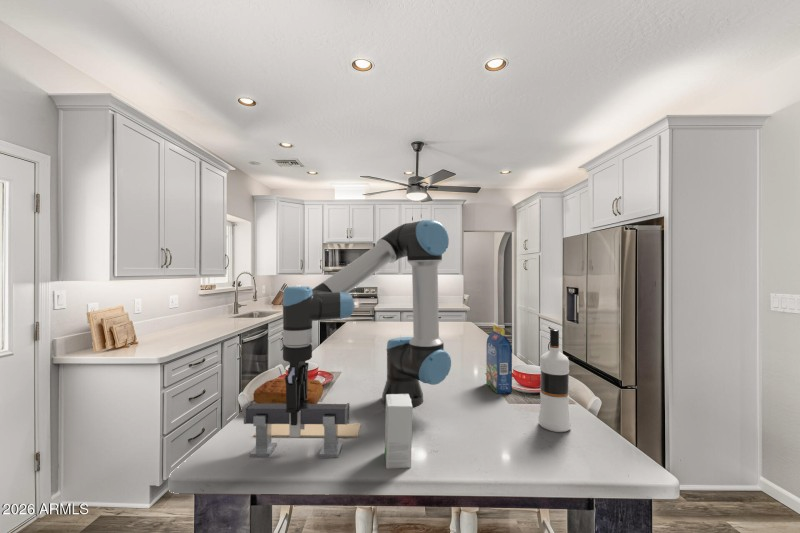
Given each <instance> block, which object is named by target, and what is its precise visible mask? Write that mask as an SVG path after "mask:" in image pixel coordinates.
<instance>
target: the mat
mask: <svg viewBox="0 0 800 533" xmlns="http://www.w3.org/2000/svg"><path fill="white" fill-rule="evenodd" d="M360 429H361V423H348V424H347V425H345V424H338V438H358V436H359V433H360ZM253 437H254V438H256V432H255V433H254V434H253ZM280 437H281V438H290V437H289V424H271V438H280ZM299 438H324V426H323V424H305V429H301V436H300V437H299Z"/></svg>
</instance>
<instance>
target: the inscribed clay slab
mask: <svg viewBox="0 0 800 533" xmlns="http://www.w3.org/2000/svg"><path fill="white" fill-rule="evenodd" d="M323 393H324V387H323V384H322V382H321V381H320V380H319V379H318V380H317V379H308V387H307V396H308V397H307V399H306V400H308V404H319V403H318V402H319V401H320V400H321V398H322V396H323ZM252 395H253V402H254V403H255V404H286V382H285V377H280V378H279V377H277V378H276V377H275V378H273V379H270V380H267V381H265V382H263V383H262V384H261V385H260V386H258V387H257V388H256V389H255V390H254V391H253V394H252Z"/></svg>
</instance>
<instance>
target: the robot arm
mask: <svg viewBox="0 0 800 533" xmlns="http://www.w3.org/2000/svg"><path fill="white" fill-rule="evenodd" d="M449 240H450V238H449V234H448V231H447V229H446V227H444V226H443V224H442V223H441V222H439V221H437V220H434V219H433V220H432V219H425V220H424V219H423V220H418V221H414V222H408V223H407V222H406V223H403V224H401V225H399V226H396V227H395V228H393V229H392V230H390V231H389V232H388V233H387V234H385V235H384V236H382V237H381V238H380V239H378V240H377V241H376V245H374V246H373V247H371V248H370V249H368V250H367V251H366V252H364V253H362V254H361V255H360V256H358V257H357V258H356V259H354V260H353V261H351V262H350V263H348V264H347V265H346V266H344V267H343V268H341V269H339V270H338V271H337V272H336V273H334V274H333V275H330V277H328V278H327V279H326V280H324V281H323V282H321V283H319V284H318V285H316V286H315V287H314V288H312V287H311V286H304V285H303V286H287V287H285V288H284V290H283V292H282V293H283V296H282V305H281V306H282V325H283V326H282V332H280V333H281V334H280V335H281V336H283V337H282V344H283V347H282V360H283V361H284V362H288V364H289V367H288V369H287V374H288V375H287V374H286V375H285V376H284V378H285V382H286V412H287V413H289V437H288V438H301V437H300V436H301V429H305V424H301V411H299V410H300V409H299V406H300V404H308V400H306V399H307V397H308V396H307V387H308V378H309V377H308V376H309V374H308V372H309V362H307V361H310V360H311V359H312V358H313V345H312V342H313V322H315V321H327V320H338V319H339V320H341V319H347V318H350V317H351V316H352V315H353V313H354V309H355V301H354V297H353V296H352V294H351V293H349V292H351V291H352V290H353V289H355V288H356V287H358V286H360V284H362V283H363V282H365V281H366V280H368V279H369V277H372V276H373V275H374V274H375V273H376V272H378V271H379V270H381V269H383V267H385V266H386V265H388V264H389V263H390V264H393V263H395V262H397V261H398V260H399V259H402V258H405V257H407V260H406V261H407V262H408V263H409V265H410V266H411V272H412V273H411V275H412V278H411V279H412V282H411V283H412V285H411V286H412V321H413V322H412V323H413V324H412V330H413V332H412V333H413V334H412V336H403V337H395V338H390V339H388V341H387V343H386V344H387V345H386V350H385V351H386V381H385V384H384V387H383V391H382V394H381V401H382V403H383V404H384V405H386V394H409V396H410V399H411V403H412V406H413V408H414V407H419V406H420V405H421V404H422V403H423V402H424V393H423V390H422V386H421V384H420V382H421V383H422V384H428V385H439V384H441V383H442V382H444V380H446V377H447V376H449V374H450V371H451V367H452V358H451V356H450V354H449V353H448V352H447V351H446V350H445V348H444V346H445V344H444V340H443V339H442V337H440V330H439V328H440V326H439V325H440V322H439V320H440V319H439V276H438V274H439V270H438V266H439V264H441V262H442V261H443V255H444V253H445V252H446V251H447V249H448V247H449V243H450V242H449Z"/></svg>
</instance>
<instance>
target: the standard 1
mask: <svg viewBox="0 0 800 533" xmlns="http://www.w3.org/2000/svg"><path fill="white" fill-rule="evenodd" d="M252 425H253V427H255V433H256V437H255V447H254V448H253V449H252V450H251V452H250V453H249V458H269V457H271V455H272V454H273V452H274V451H275V449H276V448H277V446H278V442H272V437H271V424H266V415H254V420H253V424H252Z"/></svg>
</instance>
